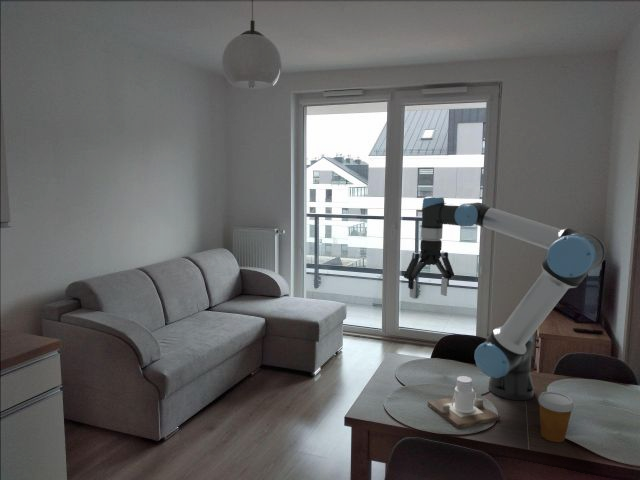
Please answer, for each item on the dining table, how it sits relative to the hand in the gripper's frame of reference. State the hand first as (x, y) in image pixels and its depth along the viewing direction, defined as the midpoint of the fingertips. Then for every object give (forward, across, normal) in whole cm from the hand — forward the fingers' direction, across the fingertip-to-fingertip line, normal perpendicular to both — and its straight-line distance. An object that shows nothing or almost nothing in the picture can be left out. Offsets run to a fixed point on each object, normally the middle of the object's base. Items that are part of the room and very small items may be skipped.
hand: (428, 296), depth 176 cm
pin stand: (+32, +3, +27) cm, 42 cm away
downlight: (+31, +3, +27) cm, 41 cm away
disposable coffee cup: (+32, -13, +48) cm, 59 cm away
